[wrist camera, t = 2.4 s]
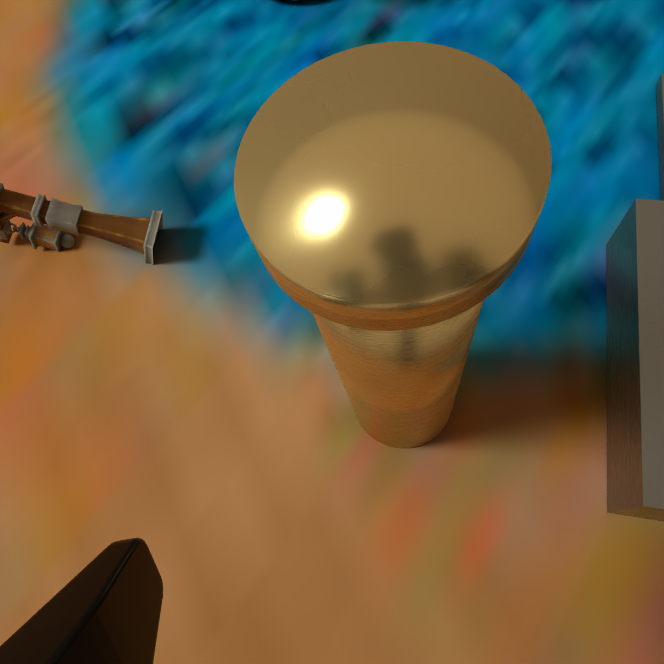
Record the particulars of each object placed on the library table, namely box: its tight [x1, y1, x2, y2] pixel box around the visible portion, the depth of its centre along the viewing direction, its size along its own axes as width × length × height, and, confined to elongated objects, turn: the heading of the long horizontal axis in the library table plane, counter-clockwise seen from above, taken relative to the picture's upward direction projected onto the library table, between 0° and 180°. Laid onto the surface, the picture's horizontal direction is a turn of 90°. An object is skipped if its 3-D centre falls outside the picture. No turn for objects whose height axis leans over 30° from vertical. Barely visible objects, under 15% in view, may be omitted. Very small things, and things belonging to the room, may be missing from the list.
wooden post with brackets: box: [0, 183, 163, 264], centre depth 24 cm, size 2×8×4 cm, turn 83°
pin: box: [234, 41, 552, 448], centre depth 14 cm, size 4×4×14 cm
